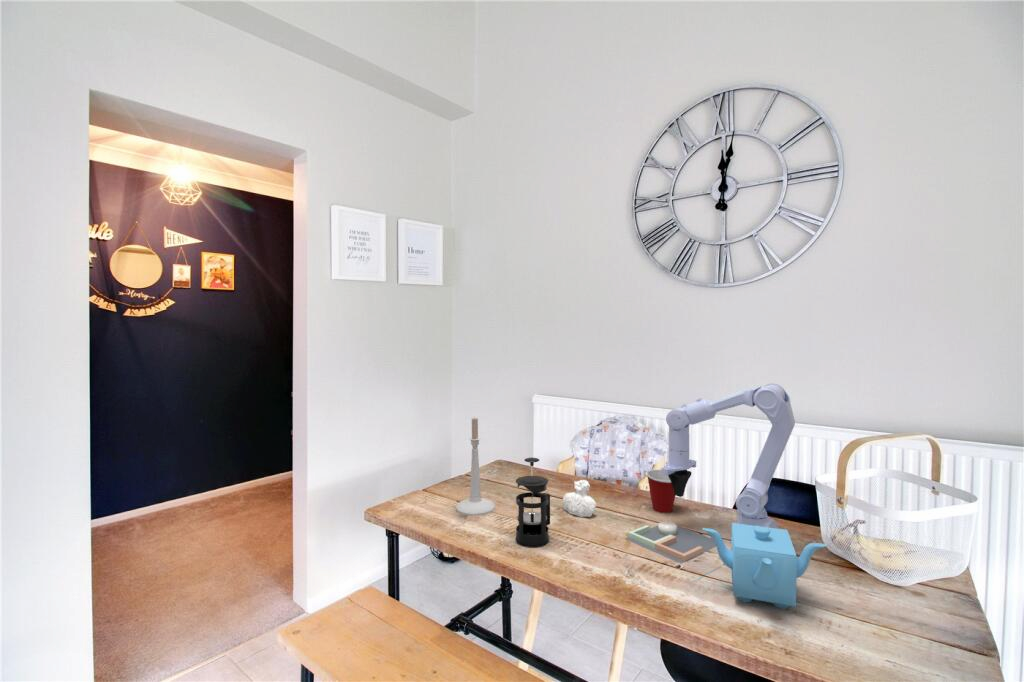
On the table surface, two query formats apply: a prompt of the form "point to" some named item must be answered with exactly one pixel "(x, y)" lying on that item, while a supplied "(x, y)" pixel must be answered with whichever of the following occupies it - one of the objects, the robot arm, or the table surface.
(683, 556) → the pink u-shaped rail
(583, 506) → the white sheep figurine
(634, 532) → the mint green c bracket
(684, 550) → the mat
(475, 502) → the candlestick
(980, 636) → the table surface
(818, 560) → the table surface
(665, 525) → the white dome
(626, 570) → the table surface
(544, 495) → the french press
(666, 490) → the plastic cup
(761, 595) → the teakettle
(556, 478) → the table surface
